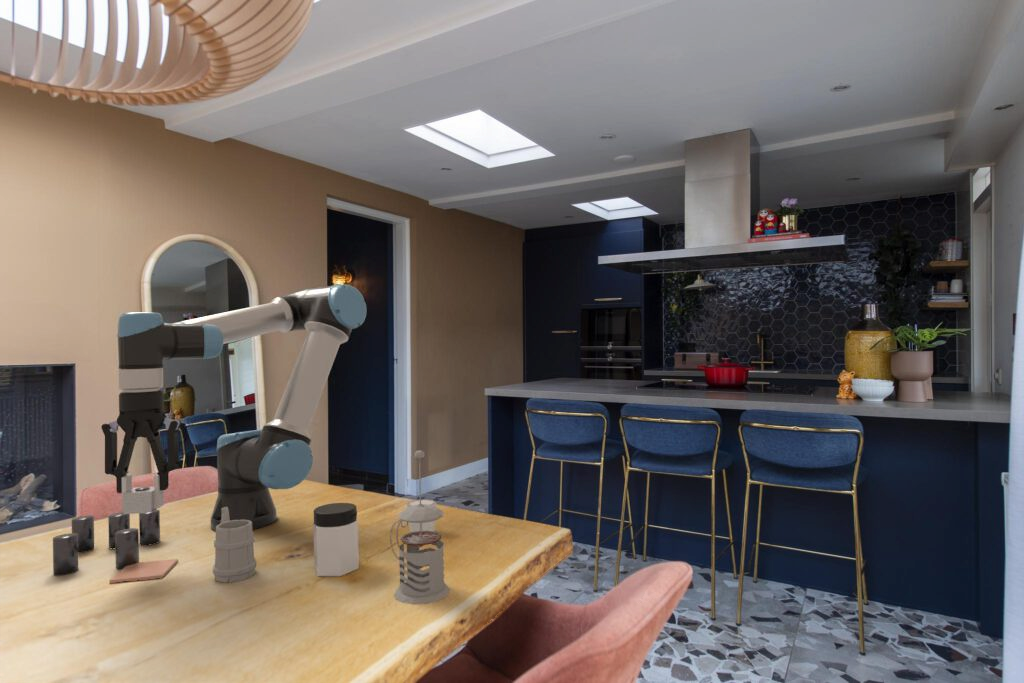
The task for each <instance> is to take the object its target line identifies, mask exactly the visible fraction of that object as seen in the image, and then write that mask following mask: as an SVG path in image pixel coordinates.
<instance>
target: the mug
mask: <svg viewBox="0 0 1024 683" xmlns="http://www.w3.org/2000/svg"><path fill="white" fill-rule="evenodd" d="M221 511H222V515H221V523H220V524H219V525H217V526H216V531H215V540H214V541H213V546H214V547H213V548H214V553H215V554H214V557H215V558H214V564H213V567H212V574H213V575H214V580H215V579H216V580H215V581H217V582H219V581H221V583H234V582H233V581H235V582H239V581H238V580H240V581H242V580H246V579H248V578H251V577H252V576H253V575H254V574H256V567H257V559H256V558H255V552H254V550H255V549H254V543H255V540H256V539H255V535H254V532H253V531H254V530H253V529H252V522H251V521H250V520H232V521H230V518H229V510H228V507H224V508H221ZM228 581H229V582H228Z"/></svg>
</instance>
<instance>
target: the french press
mask: <svg viewBox="0 0 1024 683" xmlns="http://www.w3.org/2000/svg"><path fill="white" fill-rule="evenodd" d="M413 457H414V458H417V459H418V467H419V468H418V469H419V470H418V474H419V475H418V477H419V478H418V480H419V500H420V504H418V505H413V506H411V507H408V508H407V507H406V508H404V509H402V510H401V511H400V512H398V514H397V516H396V517H397V518H398V520H397V521H395V522H394V523H393V524H392V526H391V527H390V528H391V529H390V530H389V531H390V532H389V544H390V548H391V551H392V553H393V555H394V557H396V559H397V560H399V562H398V565H399V566H398V568H399V570H398V572H399V587H397V589H396V590H395V592H394V596H393V597H394V598H395V599H396V601H399V602H402V603H404V604H410V605H422V604H424V605H425V604H429V603H434V602H438V601H439V600H441V599H444V598H446V597H447V596H448V595H449V594H450V592H451V588H450V586H448V585H447V584H446V583H445V580H444V579H445V573H444V572H445V566H444V564H445V560H444V555H445V554H444V542H442V541H441V539H442V536H443V535H442V534H441V533H439V532H437V531H433V532H432V531H422V523H426V522H432V521H435V522H436V521H438V520H440V519H441V518H443V516H444V511H443V510H442V509H440V508H438V507H437V506H436V507H435V506H432V505H427V504H421V500H422V486H421V484H422V482H421V480H422V479H421V475H422V474H421V458H424V457H425V452H424V451H423V450H418V449H417V450H416V451H415V452H414V453H413ZM403 522H405V523H406V524H405V525H403ZM409 522H410V523H420V531H414V532H410V531H409V532H408V533H405V534H403V535H402V536H401V537H400V541H401V542H402V543H401V544H399V538H398V537H399V534H398V532H399V527H401V528H402V529H404V528H406V527H408V526H409ZM397 523H398V524H397ZM396 524H397V526H396V531H395V533H396V537H395V538H396V539H395V540H396V543H397V547H398V555H397V553H396V552H395V551H394V548H393V544H392V533H393V529H394V527H395V525H396ZM405 545H406V552H405ZM429 545H432V546H435V547H436V548H437V549H436V548H432V547H427V548H423V549H421V550H420V548H421V547H423V546H429ZM405 560H406V562H405ZM424 567H428V568H426V569H423V568H424ZM405 568H406V569H405ZM422 569H423V570H422ZM405 575H406V576H405Z"/></svg>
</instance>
